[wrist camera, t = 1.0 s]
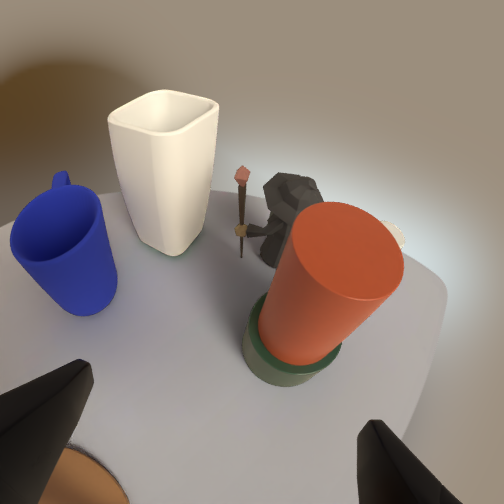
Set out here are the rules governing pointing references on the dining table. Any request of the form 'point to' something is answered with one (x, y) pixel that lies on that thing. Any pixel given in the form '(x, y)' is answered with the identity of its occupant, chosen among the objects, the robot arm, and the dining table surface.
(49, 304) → the dining table surface
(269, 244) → the wizard figurine
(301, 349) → the top tin
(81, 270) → the mug
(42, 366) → the dining table surface
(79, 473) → the cork mat
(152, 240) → the cup
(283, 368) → the tin
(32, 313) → the dining table surface
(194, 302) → the dining table surface
